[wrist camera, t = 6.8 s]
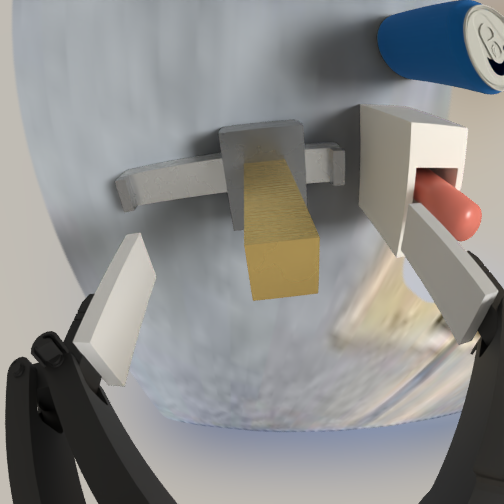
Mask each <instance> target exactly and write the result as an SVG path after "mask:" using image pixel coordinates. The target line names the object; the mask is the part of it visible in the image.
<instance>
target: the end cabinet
mask: <svg viewBox="0 0 504 504" xmlns="http://www.w3.org/2000/svg"><path fill="white" fill-rule="evenodd" d="M467 136H468V128H467V127H464V126H462V125H459V124H457V123H454V122H451V121H449V120H446V119H443V118H441V117H438V116H435V115H432V114H429V113H426V112H423V111H420V110H417V109H414V108H410V107H406V106H392V105H371V104H360V186H359V206H360V208H361V209H362V210H363V212H364V213H365V214H366V216H367V217H368V218H369V220H370V221H371V222H372V224H373V225H374V226H375V228H376V229H377V231H378V232H379V233H380V235H381V236H382V238H383V239H384V240H385V242H386V243H387V245H388V246H389V248H390V249H391V250H392V252H393V253H394V255H395V256H396V258H397V257H405V255H404V254H403V252H402V251H401V245H402V240H403V234H404V229H405V223H406V217H407V211H408V204H414V203H418V202H417V201H416V200H415V199H413V194H414V186H415V177H416V168H428V169H429V170H431V171H432V172H434V173H435V174H437V175H438V176H439V177H441V178H442V179H444V180H445V181H447V182H448V183H449V184H451V185H452V186H453V187H455V188H456V189H457V190H459V191H460V190H461V184H462V178H463V170H464V164H465V156H466V146H467Z"/></svg>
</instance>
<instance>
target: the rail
mask: <svg viewBox="0 0 504 504" xmlns="http://www.w3.org/2000/svg"><path fill="white" fill-rule="evenodd" d="M304 148H305V166H306V184H307V183H319V182H331V183H332V184H333V186H339V185H345V150H344V149H342V148H341V147H340V146H339V145H338V144H336V143H335V142H326V143H309V144H304ZM115 184H116V187H117V191H118V194H119V197H120V200H121V203H122V207H123V210H124V212H130V211H134V210H135V209H136V207H137V206H139V205H145V204H151V203H156V202H162V201H169V200H175V199H181V198H188V197H195V196H202V195H209V194H216V193H224V192H227V186H226V179H225V173H224V167H223V161H222V154H221V153H214V154H207V155H201V156H195V157H189V158H183V159H177V160H172V161H167V162H162V163H156V164H152V165H147V166H142V167H137V168H133V169H128V170H126V171H125V172H124V173H123V174H122V175H121V176H120V177H119V178H118V179H117V180H116V181H115Z"/></svg>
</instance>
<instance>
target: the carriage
mask: <svg viewBox="0 0 504 504" xmlns="http://www.w3.org/2000/svg"><path fill="white" fill-rule="evenodd" d="M218 135H219V142H220V148H221V154H222V161H223V167H224V173H225V179H226V186H227V192H228V198H229V204H230V210H231V216H232V222H233V228H234V231H236V230H244V246H245V253H246V259H247V266H248V272H249V279H250V285H251V292H252V298H253V301H255V300H265V299H274V298H283V297H291V296H300V295H308V294H316V293H318V284H319V242H320V237H319V235H318V232H317V230H316V228H315V225H314V223H313V221H312V218H311V216H310V214H309V211H308V209H307V188H306V166H305V148H304V132H303V124H301V123H300V122H299V121H295V120H281V121H270V122H260V123H250V124H242V125H234V126H227V127H222V129H220V131H219V133H218Z"/></svg>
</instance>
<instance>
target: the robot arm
mask: <svg viewBox="0 0 504 504" xmlns="http://www.w3.org/2000/svg"><path fill="white" fill-rule="evenodd" d="M401 251H402V252H403V254H404V255H405V257H406V258H407V260H408V261H409V263H410V264H411V266H412V267H413V269H414V270H415V272H416V273H417V275H418V276H419V278H420V279H421V281H422V282H423V284H424V286H425V287H426V289H427V290H428V292H429V294H430V295H431V297H432V298H433V300H434V302H435V304H436V305H437V307H438V309H439V310H440V312H441V314H442V316H443V317H444V319H445V321H446V323H447V324H448V326H449V328H450V330H451V332H452V334H453V335H454V337H455V339H456V341H457V343H458V345H460V344H463V343H466V342H469V341H472V339H473V338H474V336H475V334H476V332H477V331H478V332H479V334H480V335H481V337H480V339H479V340H478V342H477V343H476V345H475V346H474V348H473V349H472V352H471V354H472V355H473V353H474V352H475V350H476V355H475V361H474V366H473V370H472V375H471V379H470V384H469V388H468V391H467V395H466V399H465V403H464V406H463V409H462V413H461V416H460V419H459V422H458V425H457V428H456V431H455V434H454V437H453V440H452V442H451V445H450V448H449V450H448V453H447V455H446V458H445V460H444V463H443V465H442V467H441V469H440V472H439V474H438V476H437V478H436V480H435V483H434V485H433V487H432V488H431V490H430V491H429V492H428V493H427V494H426V495H425V496H424V497H423V499H422V500H421V501H420V502H419V504H504V289H503V288H502V286H501V285H500V284H499V283H498V281H497V280H496V279H495V277H494V276H493V275H492V274H491V273H490V272H489V270H488V269H487V268H486V267H485V266H484V264H483V263H482V262H481V260H480V259H479V258H478V257H477V256H475V255H474V254H473V253H471V252H470V251H466V250H465V249H464V248H463V247H462V245H461V244H460V243H459V242H458V241H457V240H456V239H455V238H454V237H453V236H452V234H451V233H450V232H449V231H448V230H447V229H446V228H445V227H444V226H443V225H442V224H441V223H440V222H439V221H438V220H437V219H436V218H435V217H434V216H433V215H432V214H431V213H430V212H429V211H428V210H427V209H426V208H425V207H424V206H423V205H422V204H421V203H414V204H408V211H407V217H406V223H405V229H404V234H403V240H402V245H401ZM156 277H157V276H156V274H155V271H154V269H153V266H152V263H151V261H150V258H149V255H148V253H147V250H146V247H145V244H144V242H143V239H142V236H141V233H133V234H127V235H126V236H125V238H124V240H123V242H122V243H121V245H120V247H119V249H118V251H117V252H116V254H115V256H114V258H113V260H112V261H111V263H110V265H109V267H108V269H107V271H106V273H105V275H104V277H103V278H102V280H101V282H100V284H99V286H98V288H97V290H96V292H95V294H89V296H88V297H87V298H86V299H85V300H84V301H83V302H82V304H81V306H80V308H79V310H78V314H76V316H75V318H74V321H73V322H72V325H71V326H70V329H69V331H68V333H67V335H66V338H65V340H64V342H62V340H61V339H60V338H59V336H58V335H57V334H56V333H55V332H52V331H50V332H46V333H43V334H42V335H40V336H39V337H38V338H37V339H36V340H35V342H34V343H33V345H32V348H31V354H32V355H33V356H34V358H35V359H36V360H37V361H38V362H39V363H36V364H32V363H31V362H30V361H29V360H28V359H27V358H25V357H20V358H18V359H16V360H15V361H14V362H13V363H12V364H11V365H10V367H9V370H8V374H7V386H6V410H5V413H6V414H5V419H6V420H5V425H6V426H5V428H6V450H7V463H8V472H9V481H10V487H11V494H12V499H13V504H86V502H85V499H84V495H83V491H82V488H81V485H80V481H79V476H78V472H77V468H76V464H75V459H76V461H77V464H78V466H79V468H80V470H81V472H82V474H83V476H84V478H85V480H86V482H87V484H88V486H89V488H90V490H91V491H92V493H93V495H94V497H95V499H96V500H97V502H98V504H177V503H176V502H175V500H174V499H173V498H172V497H171V495H170V494H169V493H168V492H167V490H166V489H165V488H164V487H163V485H162V484H161V482H160V481H159V480H158V478H157V477H156V476H155V474H154V473H153V471H152V470H151V469H150V467H149V466H148V464H147V463H146V461H145V460H144V459H143V457H142V456H141V454H140V453H139V451H138V449H137V448H136V447H135V445H134V443H133V442H132V440H131V439H130V437H129V435H128V434H127V432H126V430H125V429H124V427H123V425H122V423H121V422H120V420H119V418H118V416H117V415H116V413H115V411H114V409H113V408H112V406H111V404H110V402H109V400H108V398H107V396H106V394H105V392H104V390H103V389H102V387H101V386H100V381H101V378H103V380H104V381H105V382H106V383H107V384H108V385H111V386H112V385H113V386H125V383H126V380H127V375H128V372H129V368H130V364H131V360H132V356H133V353H134V349H135V345H136V342H137V338H138V335H139V331H140V328H141V324H142V321H143V318H144V314H145V311H146V308H147V305H148V301H149V298H150V295H151V292H152V289H153V286H154V283H155V280H156ZM37 407H38V410H37ZM74 457H75V459H74Z"/></svg>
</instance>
